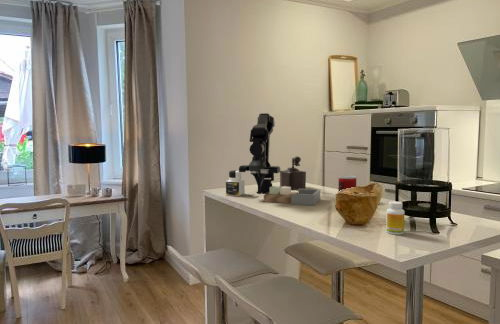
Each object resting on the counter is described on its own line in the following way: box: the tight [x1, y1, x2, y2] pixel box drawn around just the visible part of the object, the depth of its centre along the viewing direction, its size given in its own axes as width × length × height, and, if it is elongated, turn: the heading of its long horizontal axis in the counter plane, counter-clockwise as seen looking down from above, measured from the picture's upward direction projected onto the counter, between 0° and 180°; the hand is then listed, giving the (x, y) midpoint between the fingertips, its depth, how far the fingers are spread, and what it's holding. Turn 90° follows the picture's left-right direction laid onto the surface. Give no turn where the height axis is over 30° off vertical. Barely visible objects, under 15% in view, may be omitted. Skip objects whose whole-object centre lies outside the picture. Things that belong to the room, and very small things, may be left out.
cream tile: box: [280, 187, 292, 195], centre depth 177 cm, size 4×4×3 cm
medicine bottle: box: [225, 169, 246, 197], centre depth 193 cm, size 7×7×12 cm
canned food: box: [337, 174, 357, 193], centre depth 177 cm, size 8×8×11 cm
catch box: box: [290, 188, 321, 206], centre depth 174 cm, size 10×15×4 cm, turn 160°
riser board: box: [263, 191, 298, 204], centre depth 178 cm, size 13×12×3 cm
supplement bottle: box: [385, 200, 406, 236], centre depth 123 cm, size 5×5×10 cm
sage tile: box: [270, 185, 280, 194], centre depth 179 cm, size 4×4×3 cm
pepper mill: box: [279, 156, 307, 191], centre depth 210 cm, size 16×11×18 cm
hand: (259, 187), depth 182 cm, fingers closed
